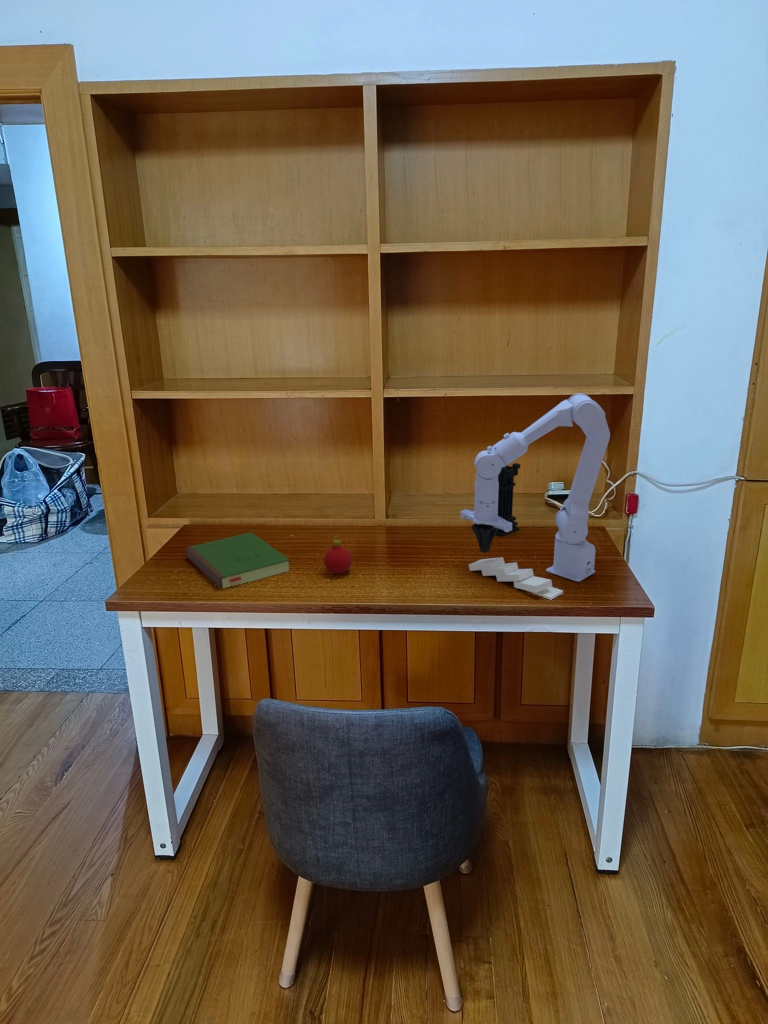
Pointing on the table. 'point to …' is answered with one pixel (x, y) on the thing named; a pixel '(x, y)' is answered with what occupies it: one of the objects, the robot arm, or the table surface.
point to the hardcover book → (237, 560)
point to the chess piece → (507, 497)
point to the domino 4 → (533, 584)
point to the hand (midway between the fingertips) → (484, 551)
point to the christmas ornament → (337, 558)
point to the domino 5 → (549, 593)
